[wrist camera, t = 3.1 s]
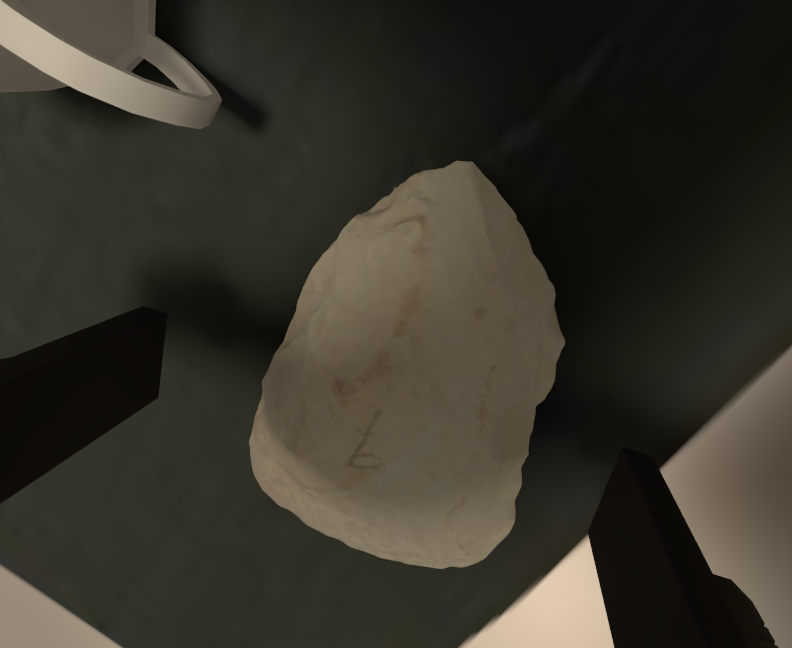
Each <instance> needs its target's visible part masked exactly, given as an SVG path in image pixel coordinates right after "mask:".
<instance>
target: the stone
mask: <svg viewBox="0 0 792 648" xmlns="http://www.w3.org/2000/svg"><path fill="white" fill-rule="evenodd" d="M555 296H556V293H555V290H554V286H553V284H552V283H551V282H550V281H549V279H548V276H547V274H546V271H545V270H544V268H543V266H542V264H541V263H540V261H539V260H538V259H537V258H536V256H535V255H534V254H533V252H532V248H531V245H530V242H529V239H528V237H527V235H526V233H525V231H524V229H523V227H522V226H521V224H520V223H519V222H518V221H517V217H516V214H515V212H514V211H513V210H512V208H511V207H510V206H509V205H508V204H507V203H506V201H505V200H504V199H503V198H502V196H501V195H500V194H499V193H498V191H497V189H496V187H495V186H494V185H493V183H491V182H490V181H489V180H488V179H487V178H486V177H485V176H484V175H483V173H482V172H481V171H480V170H479V168H478V167H477V166H476V165H475V164H474V163H473V162H472V161H471V162H469V161H467V162H464V161H455V162H453V163H452V164H450V165H448V166H446V167H445V168H441V169H435V170H426V171H422V172H419V173H415V174H414V175H412V176H411V177H409V178H408V179H407V180H406V182H404V183H402V184H400V185H399V187H398V188H396V187H394V191H393V192H392V193H391V194H390V195H389V196H385V197H383V198H382V199H381V200H380V201H379V202H378V203H377V204H376V205H375V206H374V207H373V208H372V209H370V210H369V211H367V212H365V213H362V214H357V215H356V216H355V217H353V219H352V220H351V221H350V222H349V223H348V224H347V225H346V226H345V227H344V228H343V229H342V231H341V233H340V235H339V237H338V238H337V240H336V241H335V242H333V243H332V245H331V246H330V248H329V249H328V250H327V251H326V252H324V253H323V255H322V256H321V258H320V259H319V260H318V262H317V263H316V264H315V266H314V267H313V269H312V270H311V272H310V274H309V276H308V278H307V281H306V283H305V284H304V286H303V289H302V292H301V295H300V297H299V300H298V302H297V309H296V312H295V314H294V317H293V319H292V321H291V323H290V325H289V328H288V330H287V333H286V336H285V338H284V341H283V343H282V344H281V346H280V347H279V349H278V350H277V351H276V353H275V354H274V357H273V359H272V362H271V364H270V367H269V369H268V371H267V373H266V375H265V377H264V378H263V381H262V388H263V392H262V398H261V401H260V403H259V406H258V410H257V412H256V415H255V418H254V425H253V430H252V435H251V437H250V440H249V445H250V456H251V462H252V469H253V473H254V476H255V477H256V479H257V481H258V483H259V484H260V486H261V488H262V490H263V491H264V492H265V493H266V494H267V495H268V496H269V497H271V498H272V499H273V500H274V501H275V502H276V504H278V505H279V506H281V507H283V508H286V509H288V510H290V511H291V512H293V513H294V514H295V515H297V516H298V517H299V518H300V519H301V520H302V522H304V523H305V524H307V525H308V526H310V527H312V528H314V529H316V530H318V531H320V532H321V533H323V534H325V535H326V536H330V537H333V538H336V539H339V540H341V541H342V542H344V543H345V544H347V545H348V546H350V547H351V548H355V549H358V550H362V551H364V552H367V553H370V554H373V555H375V556H377V557H379V558H384V559H389V560H394V561H400V562H403V563H406V564H411V565H418V566H425V567H431V568H439V569H444V568H447V567H450V566H453V567H466V566H469V565H472V564H475V563H477V562H479V561H481V560H483V559H484V558H486V557H487V555H488V554H489V553H490V552H491V551H492V550H493V549H494V548H495V547H496V546H497V545H498V544H499V543H500V542H501V541H502V540H503V539H504V538H505V537H506V536H507V535H508V533H509V532H510V531H511V529H512V527H513V525H514V522H515V513H516V510H515V499H516V497H517V495H518V493H519V490H520V488H521V486H522V474H521V468H522V465H523V463H524V461H525V459H526V458H527V456H528V455H529V452H528V449H529V439H530V435H531V433H532V431H533V425H534V418H535V413H536V411H535V409H536V406H537V405H538V404H539V403H541V402H542V401H544V400H545V398H546V396H547V394H548V393H549V391H550V390H551V388H552V386H553V383H554V381H555V374H556V362H557V361H558V359H559V356H560V352H561V350H562V349H563V347H564V345H565V339H564V337H563V335H562V333H561V330H560V327H559V324H558V320H557V316H556V312H555V307H554V302H555Z"/></svg>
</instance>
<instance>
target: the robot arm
mask: <svg viewBox="0 0 792 648" xmlns="http://www.w3.org/2000/svg"><path fill="white" fill-rule="evenodd" d="M166 320H167V313H165V312H162V311H158V310H155V309H151V308H148V307H145V306H142V307H139V308H137V309H134V310H132V311H129V312H127V313H124V314H121V315H119V316H116V317H114V318H111V319H109V320H106V321H103V322H101V323H98V324H96V325H93V326H91V327H88V328H85V329H83V330H80V331H78V332H75V333H73V334H70V335H68V336H65V337H62V338H60V339H57V340H55V341H52V342H50V343H47V344H44V345H42V346H39V347H37V348H34V349H32V350H29V351H26V352H24V353H21V354H19V355H16V356H14V357H10V358H4V359H0V503H2V502H3V501H5V500H6V499H8V498H9V497H11V496H12V495H14V494H15V493H17V492H18V491H20V490H21V489H23V488H24V487H26V486H27V485H29V484H30V483H32V482H33V481H35V480H36V479H38V478H39V477H41V476H42V475H44V474H45V473H47V472H48V471H50V470H51V469H53V468H54V467H56V466H57V465H59V464H60V463H62V462H63V461H64V460H66V459H67V458H69V457H70V456H72V455H73V454H75V453H76V452H78V451H79V450H81V449H82V448H84V447H85V446H87V445H88V444H90V443H91V442H93V441H94V440H96V439H97V438H99V437H100V436H102V435H103V434H105V433H106V432H108V431H109V430H111V429H112V428H114V427H115V426H117V425H118V424H120V423H121V422H123V421H124V420H126V419H127V418H129V417H130V416H132V415H133V414H135V413H136V412H137V411H139V410H140V409H142V408H143V407H145V406H146V405H148V404H149V403H151V402H152V401H154V400H155V399H157V398H158V395H159V386H160V376H161V367H162V358H163V348H164V339H165V330H166ZM588 535H589V539H590V544H591V548H592V552H593V557H594V561H595V565H596V569H597V574H598V578H599V582H600V587H601V591H602V596H603V599H604V604H605V609H606V613H607V617H608V621H609V626H610V630H611V634H612V639H613V643H614V648H778V646H776V645H774V643H775V641H774V639H773V637H772V636H771V634H770V632H769V630H768V629H767V628H766V627H764V622H763V620H762V619H761V616H760V615H759V613H758V611H757V609H756V608H755V606H754V604H753V602H752V601H751V600H750V599H749V598H748V597H747V596H746V595H745V594H744V593H743V592H742V591H741V589H740V588H738V586H736V584H735V583H734V582H733V581H732V580H730V579H727V578H724V577H721V576H717V575H714V574H712V572H711V570H710V568H709V566H708V564H707V562H706V560H705V558H704V556H703V554H702V552H701V550H700V548H699V546H698V544H697V542H696V540H695V538H694V536H693V535H692V533H691V531H690V529H689V527H688V525H687V523H686V521H685V519H684V517H683V516H682V513H681V511H680V509H679V507H678V505H677V503H676V502H675V500H674V498H673V496H672V494H671V492H670V490H669V488H668V486H667V484H666V482H665V480H664V478H663V476H662V474H661V472H660V470H659V468H658V466H657V464H656V463H655V461H654V459H653V457H652V455H648V454H645V453H641V452H638V451H635V450H631V449H628V448H624V447H622V450H621V452H620V455H619V457H618V459H617V462H616V464H615V467H614V469H613V472H612V474H611V476H610V479H609V481H608V484H607V486H606V489H605V491H604V493H603V496H602V498H601V501H600V503H599V506H598V508H597V510H596V513H595V515H594V518H593V520H592V523H591V525H590V528H589V530H588Z"/></svg>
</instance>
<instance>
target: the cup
mask: <svg viewBox="0 0 792 648" xmlns="http://www.w3.org/2000/svg"><path fill="white" fill-rule="evenodd" d="M155 16H156V0H0V92H20V91H46V90H53V89H58V88H63V87H67V86H70V87H72V88H74V89H76V90H78V91H80V92H82V93H85V94H87V95H90V96H92V97H94V98H97V99H99V100H102V101H104V102H106V103H109V104H111V105H114V106H116V107H118V108H121V109H123V110H126V111H128V112H130V113H133V114H137V115H141V116H144V117H148V118H152V119H155V120H159V121H163V122H166V123H170V124H174V125H179V126H185V127H191V128H197V129H202V128H204V127H207V126H209V125H211V123H212V121H213V119H214V117H215V115H216V113H217V110H218V108H219V106H220V104H221V102H222V99H221V97H220V95H219V93H218V91H217V90H216V89H215V87H214V86H213V85H212V84H211V83H210V82H209V81H208V80H207V79H206V78H205V77H204V76H203V75H202V74H201V73H200V72H199V71H198V70H197V69H196V68H195V67H194V66H193V65H192V64H191V63H190V62H189V61H188V60H187V59H186V58H184V57H183V56H182V55H181V54H180V53H179V52H177V51H176V50H175V49H174V48H173V47H171V46H170V45H168V44H167V43H165V42H164V41H163V40H161V39H160V38H158V37H157V36H155ZM143 59H145V60H147V61H148V62H150V63H151V64H153V65H154V66H156V67H157V68H158V69H159V70H160V71H161V72H162V73H164V74H165V75H166V76H167V77H168V78H169V79H170V80H171V81H172V82H174V84H175V85H176V86H177V87H178V88H179V89H180V90H181V91H180V90H177V89H174V88H171V87H168V86H165V85H162V84H160V83H157V82H154V81H151V80H148V79H145V78H143V77H140V76H138V75H136V74H134V73H132V72H131V71H132V70H133V69H134V68H135V67H136V66H137V65H138V64H139V63H140V62H141V61H142V60H143Z"/></svg>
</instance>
